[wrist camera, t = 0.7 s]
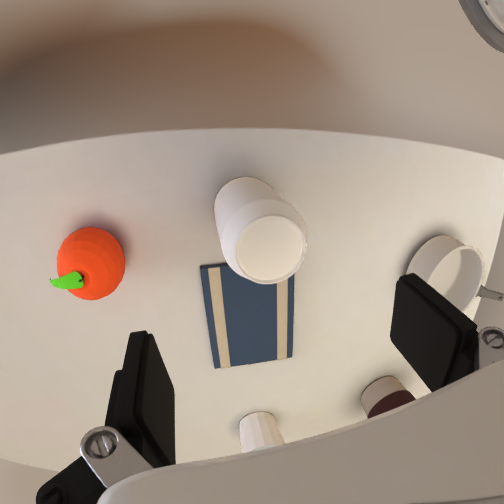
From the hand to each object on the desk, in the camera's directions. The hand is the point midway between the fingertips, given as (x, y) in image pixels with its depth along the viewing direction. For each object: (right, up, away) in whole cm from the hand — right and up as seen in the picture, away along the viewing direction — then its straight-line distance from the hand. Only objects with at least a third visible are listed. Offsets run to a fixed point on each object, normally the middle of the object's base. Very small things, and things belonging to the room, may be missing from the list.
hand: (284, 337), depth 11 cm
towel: (-1, -4, +26) cm, 26 cm away
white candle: (0, -23, +35) cm, 42 cm away
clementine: (-18, +3, +20) cm, 27 cm away
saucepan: (+28, 0, +30) cm, 41 cm away
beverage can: (-2, +8, +21) cm, 23 cm away
